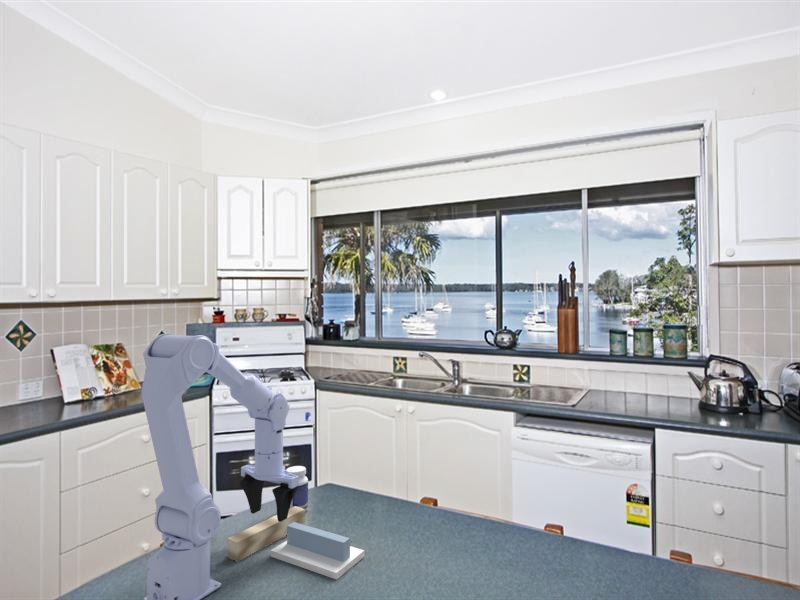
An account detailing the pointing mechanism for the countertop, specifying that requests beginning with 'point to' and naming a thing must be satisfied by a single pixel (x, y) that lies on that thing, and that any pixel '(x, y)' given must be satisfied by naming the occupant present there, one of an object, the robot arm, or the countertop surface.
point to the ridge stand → (317, 550)
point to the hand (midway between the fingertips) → (269, 515)
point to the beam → (262, 534)
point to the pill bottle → (300, 487)
